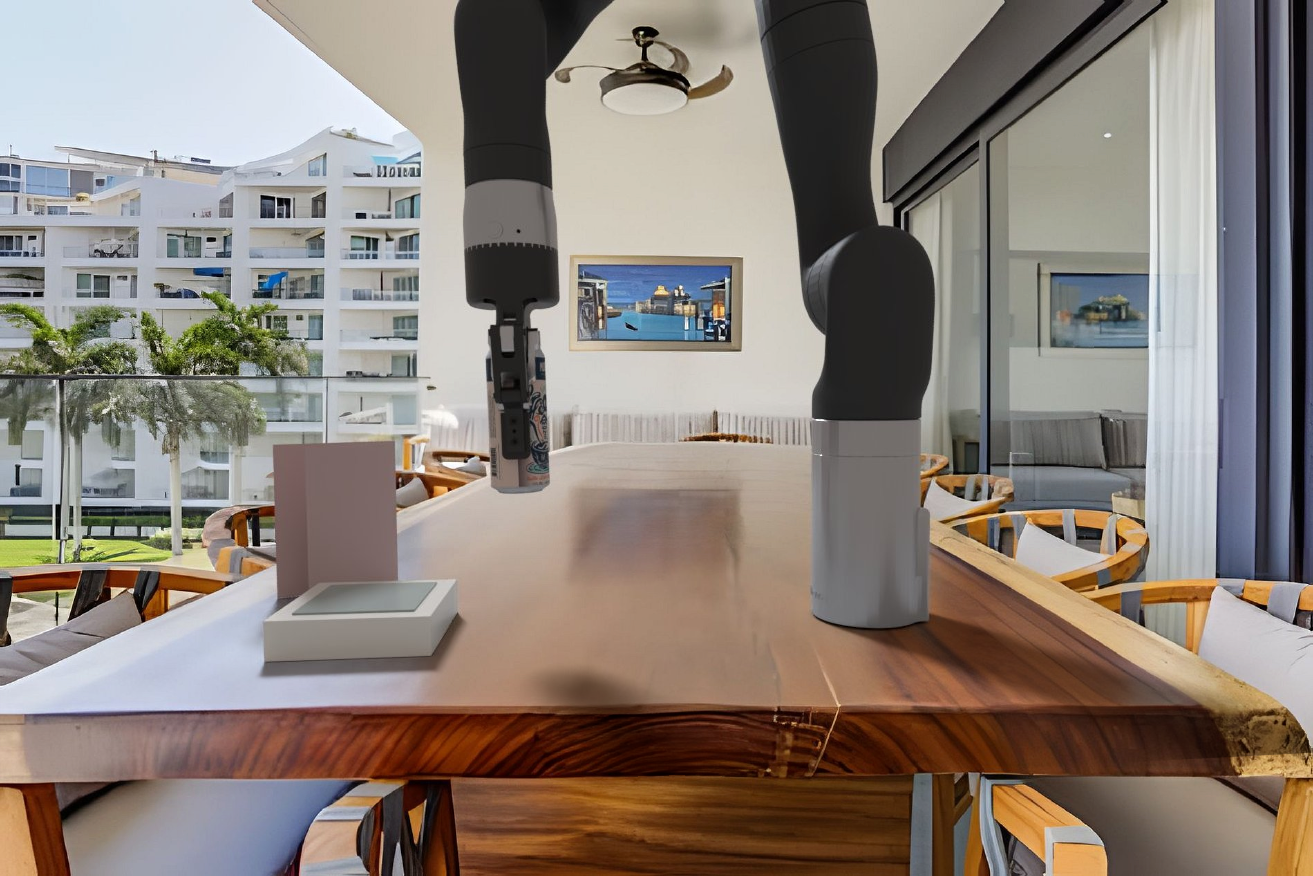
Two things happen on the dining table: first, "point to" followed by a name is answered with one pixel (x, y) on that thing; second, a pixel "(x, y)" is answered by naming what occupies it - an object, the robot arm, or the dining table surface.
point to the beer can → (535, 468)
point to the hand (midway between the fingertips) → (519, 455)
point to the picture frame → (362, 621)
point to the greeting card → (334, 514)
